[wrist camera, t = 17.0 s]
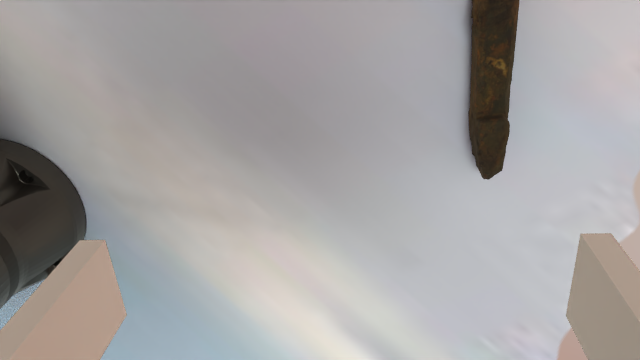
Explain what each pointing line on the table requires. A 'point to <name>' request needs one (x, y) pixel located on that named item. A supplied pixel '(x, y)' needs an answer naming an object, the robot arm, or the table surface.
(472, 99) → the hand tool
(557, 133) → the table surface
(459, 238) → the table surface
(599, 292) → the robot arm
